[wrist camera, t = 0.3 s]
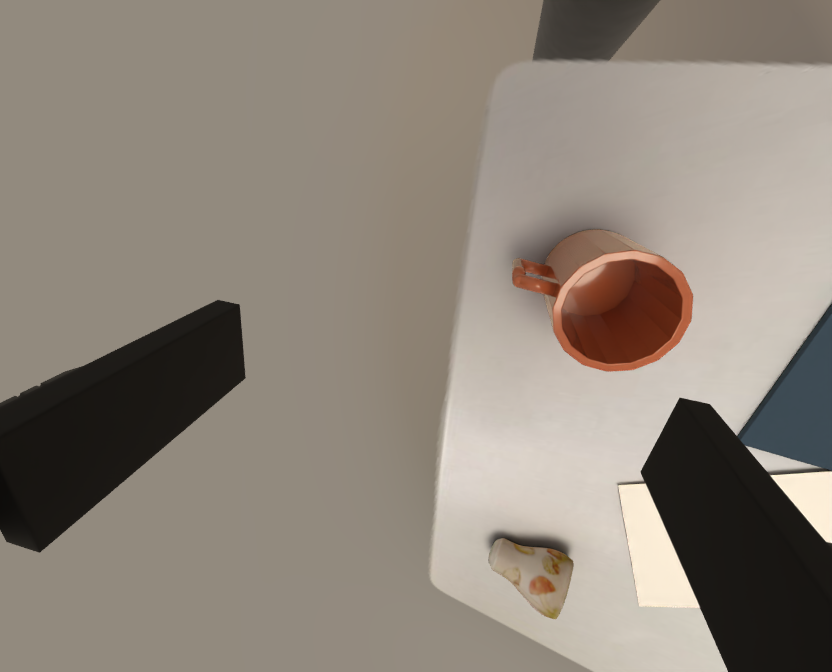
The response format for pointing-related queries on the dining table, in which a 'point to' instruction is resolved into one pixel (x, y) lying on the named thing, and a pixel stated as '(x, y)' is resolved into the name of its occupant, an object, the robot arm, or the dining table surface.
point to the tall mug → (610, 299)
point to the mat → (799, 405)
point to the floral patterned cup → (534, 574)
